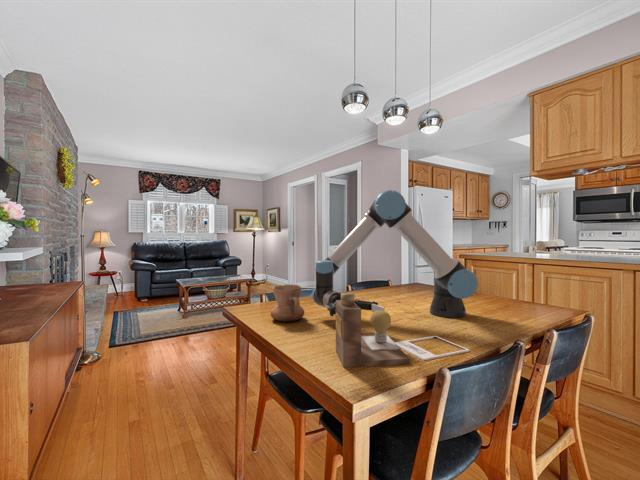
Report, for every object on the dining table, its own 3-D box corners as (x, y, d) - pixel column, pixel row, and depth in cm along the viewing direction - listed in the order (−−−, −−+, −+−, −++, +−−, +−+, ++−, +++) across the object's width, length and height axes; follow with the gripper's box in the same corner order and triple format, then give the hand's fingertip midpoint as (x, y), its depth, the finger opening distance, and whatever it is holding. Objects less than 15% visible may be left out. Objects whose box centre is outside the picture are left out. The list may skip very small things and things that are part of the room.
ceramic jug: (264, 317, 138) (264, 285, 137) (294, 312, 145) (294, 281, 144) (280, 328, 122) (279, 292, 122) (312, 322, 129) (312, 288, 129)
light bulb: (395, 342, 100) (395, 311, 99) (380, 346, 96) (380, 314, 96) (380, 337, 105) (380, 307, 105) (366, 340, 101) (366, 310, 101)
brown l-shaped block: (384, 337, 110) (384, 283, 109) (409, 363, 88) (410, 296, 88) (330, 340, 107) (329, 285, 107) (342, 367, 86) (342, 298, 85)
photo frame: (392, 342, 104) (435, 335, 111) (392, 345, 104) (435, 338, 111) (423, 358, 90) (469, 349, 97) (423, 362, 90) (469, 352, 97)
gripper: (361, 307, 130) (396, 320, 112) (307, 315, 119) (336, 330, 100) (361, 289, 130) (396, 299, 111) (307, 295, 119) (335, 307, 100)
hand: (367, 313), depth 106 cm, fingers open, 13 cm apart
